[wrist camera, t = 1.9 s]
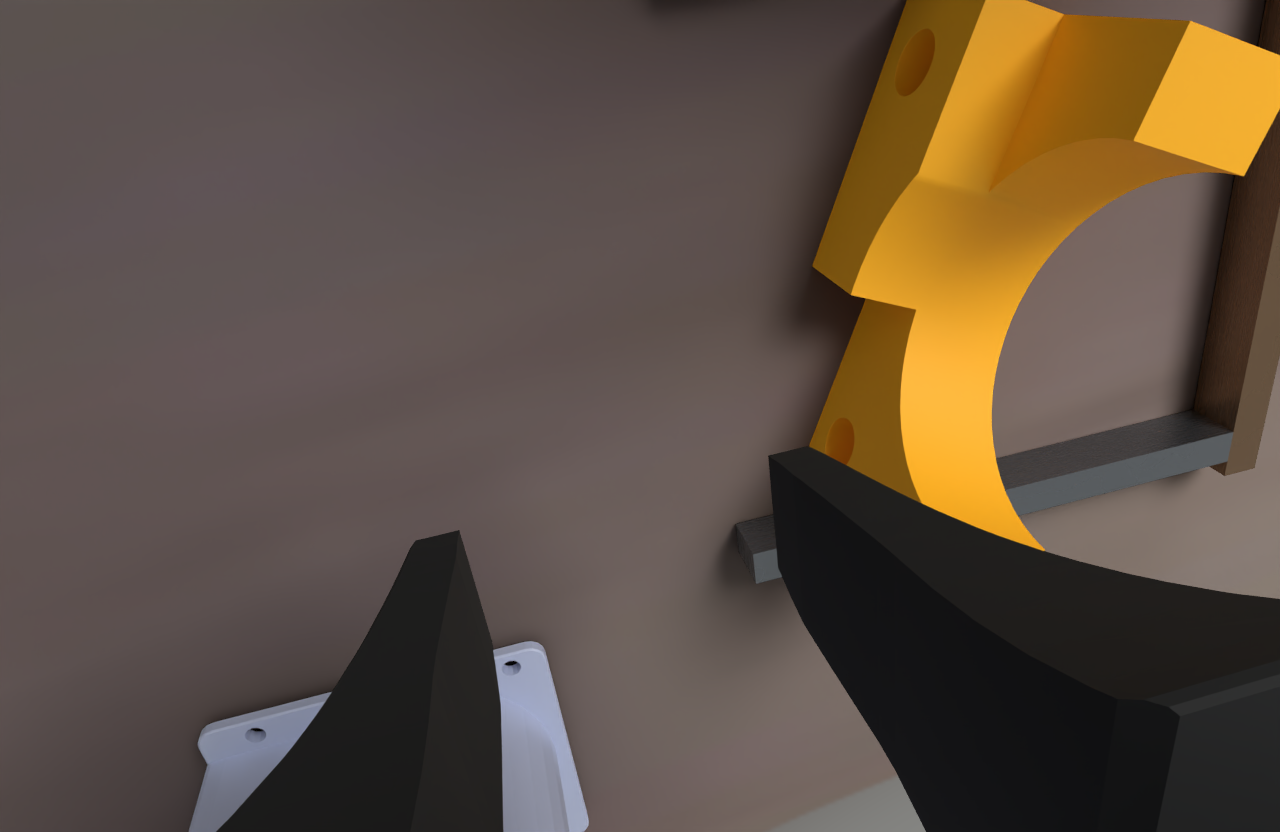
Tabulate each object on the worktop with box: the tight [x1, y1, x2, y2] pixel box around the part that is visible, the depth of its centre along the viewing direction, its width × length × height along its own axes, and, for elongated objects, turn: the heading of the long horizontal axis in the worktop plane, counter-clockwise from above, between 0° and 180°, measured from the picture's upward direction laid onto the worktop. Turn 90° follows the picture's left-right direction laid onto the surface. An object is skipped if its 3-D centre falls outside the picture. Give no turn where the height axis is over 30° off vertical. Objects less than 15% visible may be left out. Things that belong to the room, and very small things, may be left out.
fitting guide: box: [736, 0, 1280, 584], centre depth 22 cm, size 16×17×2 cm
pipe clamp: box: [809, 0, 1280, 551], centre depth 19 cm, size 12×4×6 cm, turn 164°
